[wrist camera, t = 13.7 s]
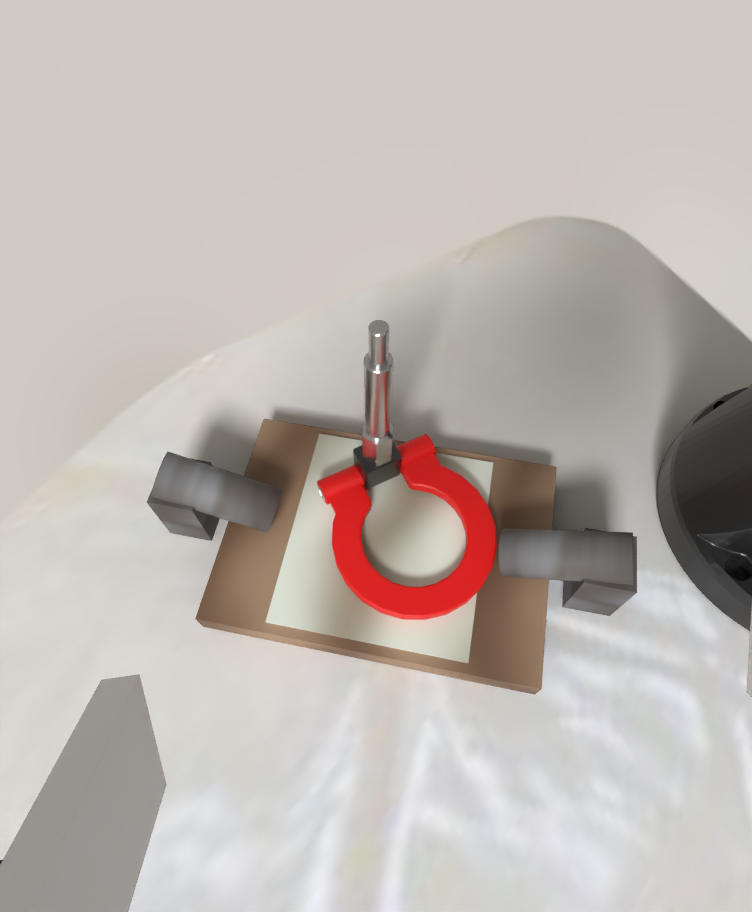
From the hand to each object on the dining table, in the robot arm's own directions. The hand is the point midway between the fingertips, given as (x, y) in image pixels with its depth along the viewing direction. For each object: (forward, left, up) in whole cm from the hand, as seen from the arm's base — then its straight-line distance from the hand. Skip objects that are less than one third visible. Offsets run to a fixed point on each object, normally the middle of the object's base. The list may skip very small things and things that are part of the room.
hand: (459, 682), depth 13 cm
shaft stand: (+3, -10, -18) cm, 21 cm away
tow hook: (+2, -10, -17) cm, 20 cm away
